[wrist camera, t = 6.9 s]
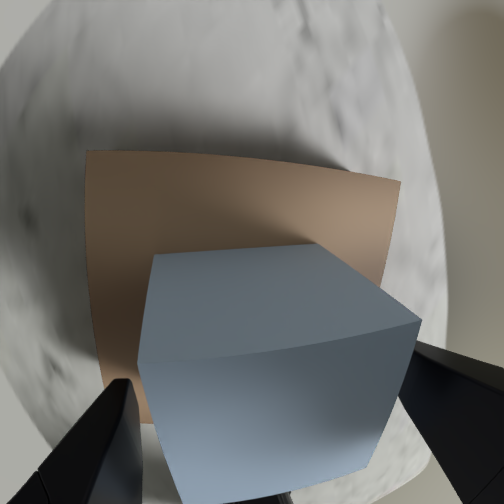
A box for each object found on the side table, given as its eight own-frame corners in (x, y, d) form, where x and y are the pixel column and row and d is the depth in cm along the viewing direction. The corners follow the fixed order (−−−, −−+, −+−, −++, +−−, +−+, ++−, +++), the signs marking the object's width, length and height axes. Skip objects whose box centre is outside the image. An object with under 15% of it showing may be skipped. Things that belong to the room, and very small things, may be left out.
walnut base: (310, 358, 17) (341, 406, 13) (121, 363, 14) (112, 421, 10) (345, 170, 14) (400, 181, 10) (113, 150, 11) (86, 150, 7)
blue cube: (305, 369, 11) (366, 467, 7) (173, 386, 10) (184, 507, 6) (318, 243, 10) (422, 319, 5) (154, 254, 9) (137, 363, 4)
